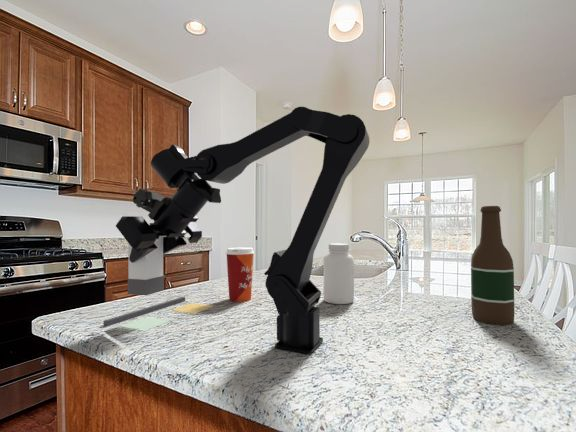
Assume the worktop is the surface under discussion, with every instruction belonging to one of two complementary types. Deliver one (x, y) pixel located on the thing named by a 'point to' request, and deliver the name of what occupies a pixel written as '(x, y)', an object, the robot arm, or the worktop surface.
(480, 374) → the worktop surface
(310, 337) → the robot arm
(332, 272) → the pill bottle
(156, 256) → the plug
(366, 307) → the worktop surface
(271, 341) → the worktop surface
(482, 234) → the beer bottle
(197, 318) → the worktop surface
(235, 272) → the paper cup
